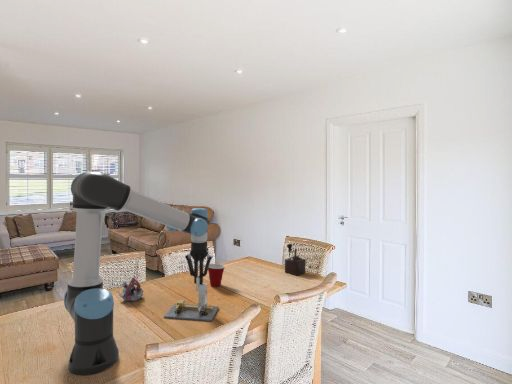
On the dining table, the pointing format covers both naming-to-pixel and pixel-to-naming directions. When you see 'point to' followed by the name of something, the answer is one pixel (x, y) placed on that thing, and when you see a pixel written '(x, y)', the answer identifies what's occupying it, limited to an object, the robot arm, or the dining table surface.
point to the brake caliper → (131, 291)
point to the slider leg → (202, 297)
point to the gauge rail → (188, 306)
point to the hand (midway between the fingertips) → (198, 290)
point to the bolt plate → (191, 314)
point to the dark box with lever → (294, 264)
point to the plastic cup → (215, 274)
